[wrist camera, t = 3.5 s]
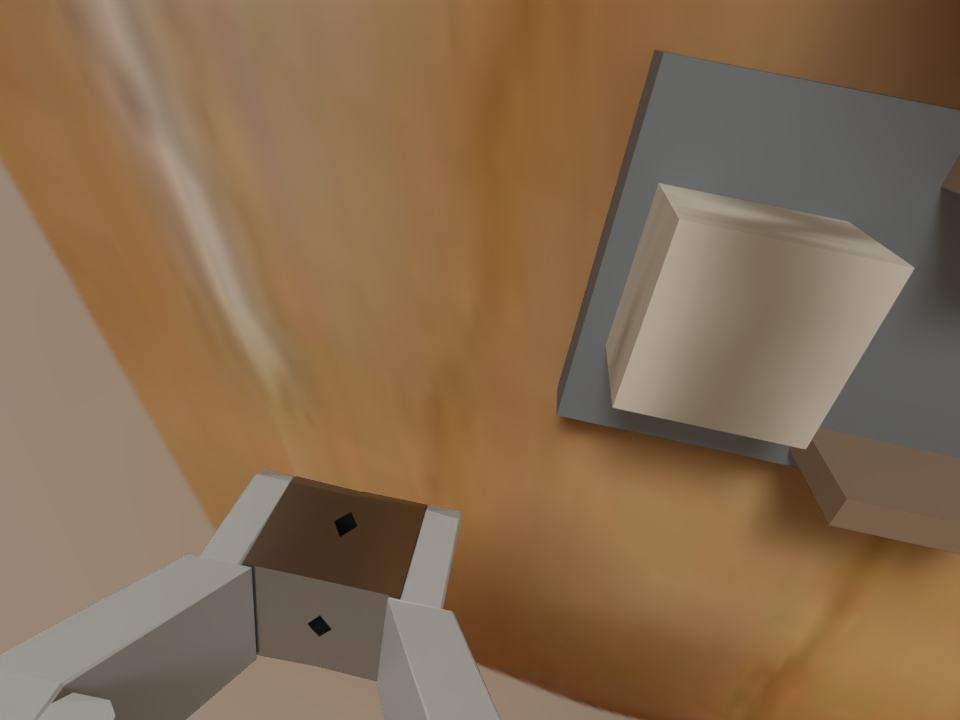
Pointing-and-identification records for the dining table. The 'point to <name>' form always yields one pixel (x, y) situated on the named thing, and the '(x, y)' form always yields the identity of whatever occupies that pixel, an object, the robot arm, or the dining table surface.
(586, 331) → the board
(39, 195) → the dining table surface
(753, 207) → the birch block
